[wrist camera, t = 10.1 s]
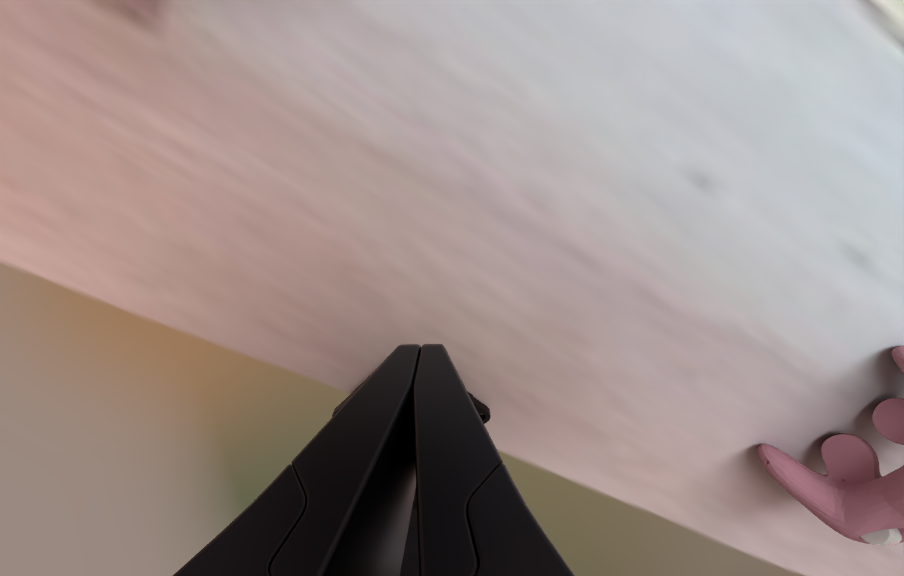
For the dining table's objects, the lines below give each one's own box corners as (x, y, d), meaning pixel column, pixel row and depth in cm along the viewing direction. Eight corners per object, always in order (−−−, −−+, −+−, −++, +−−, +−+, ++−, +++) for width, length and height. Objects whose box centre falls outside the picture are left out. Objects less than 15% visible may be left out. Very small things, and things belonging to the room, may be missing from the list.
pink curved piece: (774, 451, 31) (876, 567, 27) (742, 452, 28) (850, 582, 24) (925, 344, 27) (1079, 463, 22) (904, 334, 24) (1076, 467, 19)
